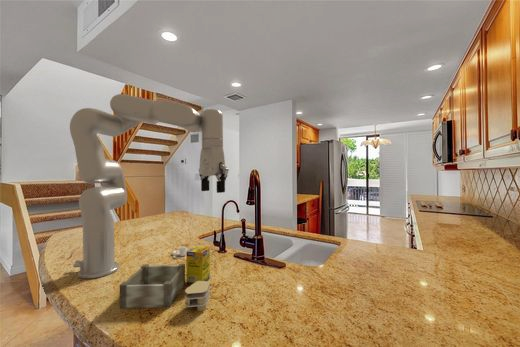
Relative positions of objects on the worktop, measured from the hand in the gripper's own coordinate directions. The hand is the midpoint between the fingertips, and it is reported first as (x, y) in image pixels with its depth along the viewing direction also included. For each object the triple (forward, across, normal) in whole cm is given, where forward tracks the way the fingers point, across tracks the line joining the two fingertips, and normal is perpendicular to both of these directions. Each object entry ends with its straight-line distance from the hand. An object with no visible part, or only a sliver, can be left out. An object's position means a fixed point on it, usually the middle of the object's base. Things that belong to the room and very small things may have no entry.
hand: (212, 191), depth 83 cm
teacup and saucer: (+31, -27, +3) cm, 41 cm away
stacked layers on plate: (+30, +14, -14) cm, 36 cm away
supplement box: (+30, +1, -7) cm, 31 cm away
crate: (+30, -1, -20) cm, 36 cm away
